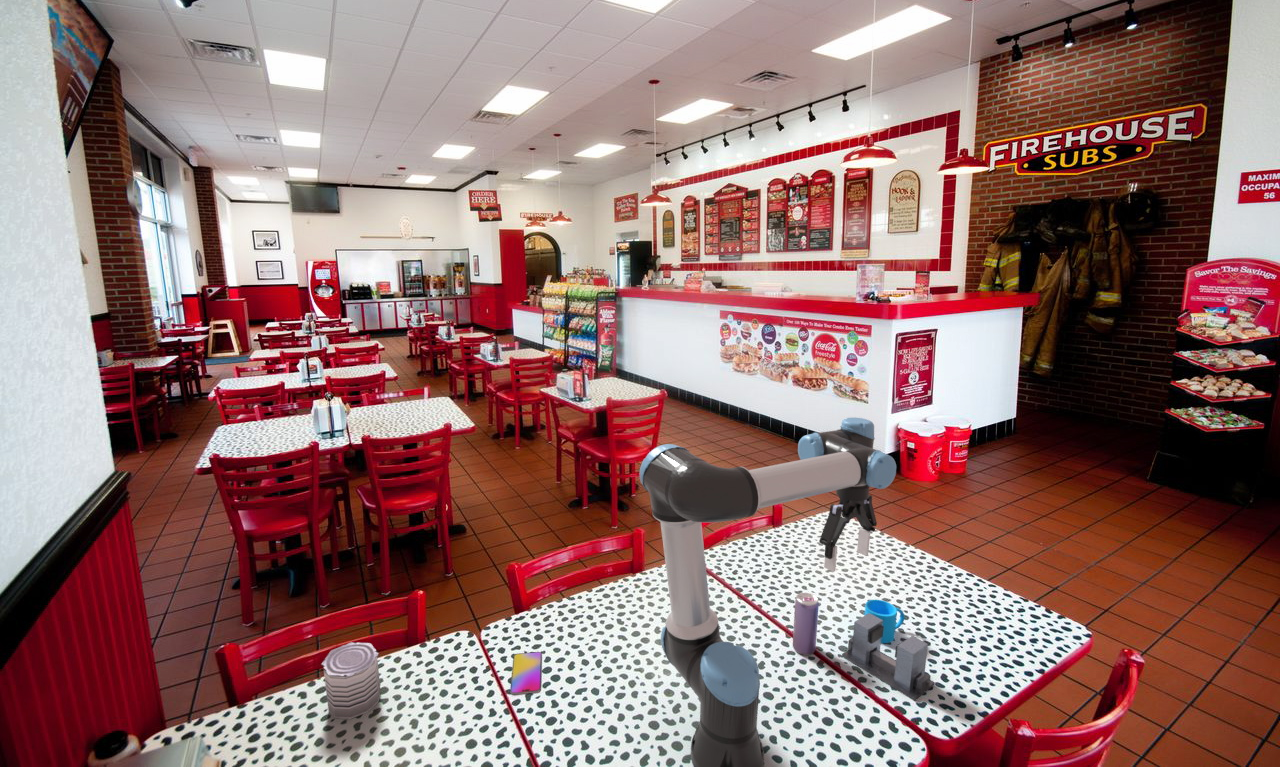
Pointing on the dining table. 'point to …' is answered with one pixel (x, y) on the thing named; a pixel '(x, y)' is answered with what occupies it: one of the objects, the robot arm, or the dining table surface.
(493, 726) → the dining table surface
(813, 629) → the beverage can
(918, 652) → the stepped metal block
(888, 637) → the mug
